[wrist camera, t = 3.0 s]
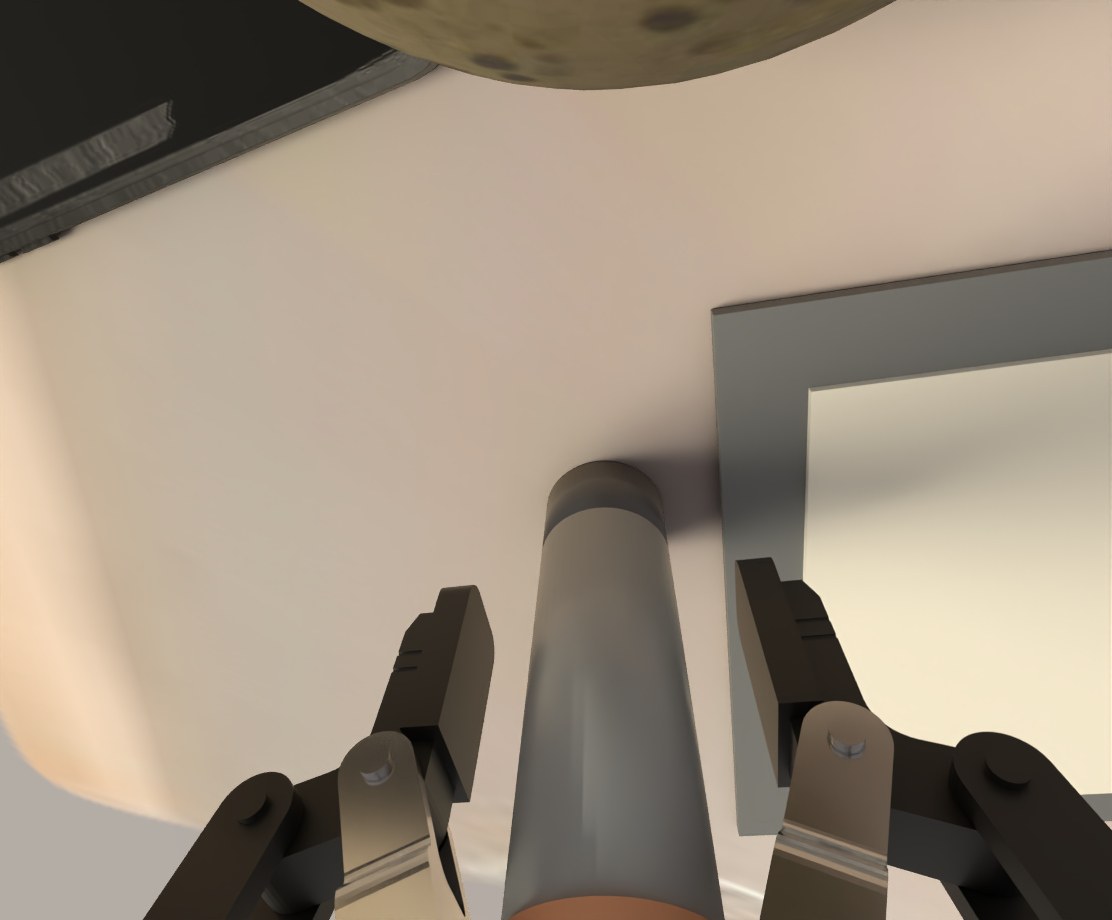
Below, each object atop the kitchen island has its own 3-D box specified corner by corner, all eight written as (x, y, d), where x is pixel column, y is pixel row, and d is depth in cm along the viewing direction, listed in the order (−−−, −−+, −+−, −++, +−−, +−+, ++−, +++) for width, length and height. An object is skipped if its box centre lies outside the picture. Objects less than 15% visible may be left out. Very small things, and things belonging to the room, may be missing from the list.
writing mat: (710, 309, 14) (714, 318, 13) (1590, 179, 12) (1635, 184, 11) (737, 825, 24) (740, 841, 24) (1216, 804, 22) (1230, 822, 21)
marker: (533, 465, 16) (426, 1132, 6) (659, 450, 16) (775, 1139, 6) (554, 562, 18) (499, 1218, 8) (670, 550, 18) (775, 1228, 7)
